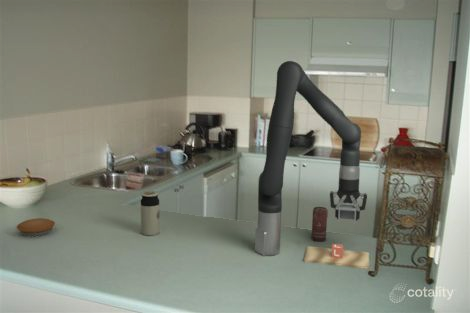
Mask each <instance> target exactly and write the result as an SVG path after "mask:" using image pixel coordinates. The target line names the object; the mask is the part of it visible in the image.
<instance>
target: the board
mask: <svg viewBox="0 0 470 313" xmlns="http://www.w3.org/2000/svg"><path fill="white" fill-rule="evenodd" d="M303 262H305V263H311V264H313V263H314V264H321V265H329V266H338V267H339V266H340V267H348V268H355V269H356V268H358V269H366V270H369V269H370V253H369V252H367V251H366V252H365V251H355V250H347V249H343V254H342V259H341V258H332V248H328V247H319V246H311V245H310V246H309V245H308V246H307V249H306V250H305V254H304V258H303Z"/></svg>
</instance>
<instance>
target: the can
mask: <svg viewBox="0 0 470 313" xmlns="http://www.w3.org/2000/svg"><path fill="white" fill-rule="evenodd" d="M328 210H329V209H327V208H326V207H323V206H316V207H313V210H312V222H311V240H312V241H314V242H317V243H323V242H325V241H326V240H327V223H328V217H329V216H328V215H329V211H328Z"/></svg>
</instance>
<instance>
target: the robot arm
mask: <svg viewBox="0 0 470 313" xmlns="http://www.w3.org/2000/svg"><path fill="white" fill-rule="evenodd" d="M297 93H298V94H299V95H300V96H301V97H303V99H305V101H306V102H307V103H308V104H309V105H310V107H311V108H312V109H313V111H315V113H316V114H317V115H318V116H319V117H320V118H322V120H324V121H325V123H327V124H328V125H329V126H330V127H331V128H332V129H333V131H334V132H335V133H336V134H337V135H338V137H339V138H340V139H341V151H340V159H339V160H340V161H339V162H340V163H339V170H338V171H339V172H338V190H337V191H333V190H331V191H330V192H329V201H330V208H331V209H334V210H335V212H334V214H335V216H334V217H335V218H336V220H338V214H339V207H340V206H341V205H343V204H351V205H354V206H355V208H356V222H358V220H360V216H361V215H360V214H361V213H360V212H361V211H365V210H366V206H367V205H366V204H367V200H368V193H365V192H364V193H362V192H360V177H361V176H360V175H361V174H360V173H361V172H360V169H361V168H360V164H361V162H360V161H361V159H360V158H361V155H360V154H361V153H360V147H361V140H362V139H361V138H362V129H361V127H360V126H359V124H357V123H354V122H352V121H351V120H350V119H349V118H348V117H347V116H346V114H345V113H344V111H343V110H342V109H341V108H340V107H339V106H338V105H337V104H336V103H335V102H334V101H333V100H332V99H331V98H329V97H328V96H327V95H326V94H325V93H324V92H322V91H321V89H319V88H318V86H316V85H315V83H313V81H312V80H311V79H310V78H309V76H308V75H307V74H306V72H305V70H303V67H302V66H301V65H300V64H299V63H298V62H296V61H293V60H287V61H284V62H283V63H281V64H280V65H279V66H278V69H277V72H276V86H275V97H274V102H273V104H272V105H273V106H272V109H271V112H270V117H269V123H268V129H267V134H266V147H265V148H266V150H265V151H266V154H265V161H264V166H263V171H262V172H261V173H260V175H259V176H258V184H257V185H258V186H257V188H258V190H257V191H258V195H257V204H258V205H257V227H256V228H255V230H254V231H255V234H254V236H255V238H254V240H255V241H254V245H255V246H254V251H255V252H257V253H258V254H259V255H261V256H264V257H266V256H268V257H269V256H276V255H279V254H280V253H281V235H282V234H281V233H282V232H281V231H282V230H281V229H282V207H283V206H282V203H283V201H282V200H283V199H282V192H283V190H282V189H283V187H284V175H285V174H284V173H285V163H286V159H287V156H288V153H289V152H288V151H289V149H290V148H289V147H290V144H291V139H292V136H293V130H294V125H295V124H294V123H295V99H296V95H297ZM336 196H337V197H338V198H339V200H338V202H337V204H335V199H334V198H336ZM359 197H360V199H361V200H362V202H361V206H360V205H359V203H358V202H359V201H358V199H359Z"/></svg>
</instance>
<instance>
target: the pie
mask: <svg viewBox="0 0 470 313" xmlns="http://www.w3.org/2000/svg"><path fill="white" fill-rule="evenodd" d="M55 225H56V222H55V221H54V220H51V219H49V218H43V217H41V218H31V219H27V220H24V221H22V222H20V223H19V224H17V226H16V230H18V232H20V233H21V234H22V235H23V236H24V235H25V236H24V237H27V236H31V237H30V238H36V237H35V236H38V237H41V236H42V235H43V236H46V235H49V234H50V233H51V232H52V229H53V228H54V226H55ZM32 236H33V237H32ZM43 236H42V237H43Z"/></svg>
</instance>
